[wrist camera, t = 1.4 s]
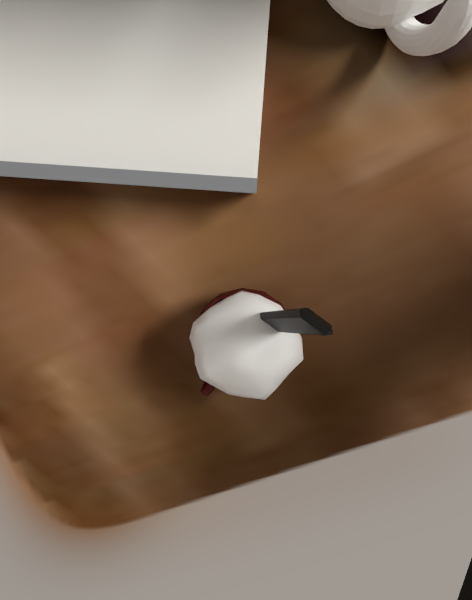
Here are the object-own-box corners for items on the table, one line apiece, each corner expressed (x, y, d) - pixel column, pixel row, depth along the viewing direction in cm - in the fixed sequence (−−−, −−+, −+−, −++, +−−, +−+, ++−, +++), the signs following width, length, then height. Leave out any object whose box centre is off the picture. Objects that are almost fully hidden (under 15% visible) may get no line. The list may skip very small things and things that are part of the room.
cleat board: (272, -46, 25) (296, -247, 14) (254, 192, 28) (262, 196, 17) (-50, -69, 25) (-301, -287, 14) (-32, 173, 28) (-223, 163, 17)
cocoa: (217, 386, 32) (198, 512, 21) (167, 315, 31) (116, 407, 19) (335, 321, 30) (386, 418, 19) (288, 242, 29) (313, 295, 17)
